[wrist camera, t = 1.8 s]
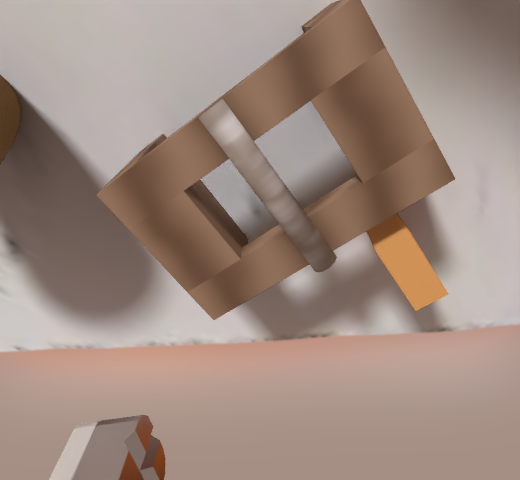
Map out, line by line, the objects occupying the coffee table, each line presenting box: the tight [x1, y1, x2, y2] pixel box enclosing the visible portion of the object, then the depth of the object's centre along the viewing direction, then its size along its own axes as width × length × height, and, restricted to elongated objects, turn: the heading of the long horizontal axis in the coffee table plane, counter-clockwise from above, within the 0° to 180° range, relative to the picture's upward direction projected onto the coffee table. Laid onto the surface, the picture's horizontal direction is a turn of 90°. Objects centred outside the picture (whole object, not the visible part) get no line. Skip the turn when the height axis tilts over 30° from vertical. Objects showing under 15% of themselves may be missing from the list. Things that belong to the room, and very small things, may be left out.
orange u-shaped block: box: [367, 213, 448, 311], centre depth 40 cm, size 7×3×11 cm, turn 35°
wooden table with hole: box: [97, 0, 455, 320], centre depth 35 cm, size 22×14×14 cm, turn 125°
